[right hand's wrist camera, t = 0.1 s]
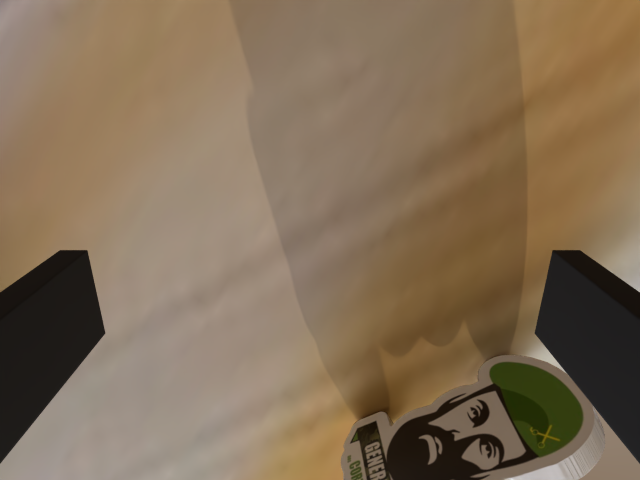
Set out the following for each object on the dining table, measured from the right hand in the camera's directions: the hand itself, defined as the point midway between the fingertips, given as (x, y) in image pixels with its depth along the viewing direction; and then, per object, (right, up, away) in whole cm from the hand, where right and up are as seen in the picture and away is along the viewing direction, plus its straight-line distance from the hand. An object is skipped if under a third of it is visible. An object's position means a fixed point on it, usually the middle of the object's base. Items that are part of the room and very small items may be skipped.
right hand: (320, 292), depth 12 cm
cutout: (+14, -16, +37) cm, 42 cm away
